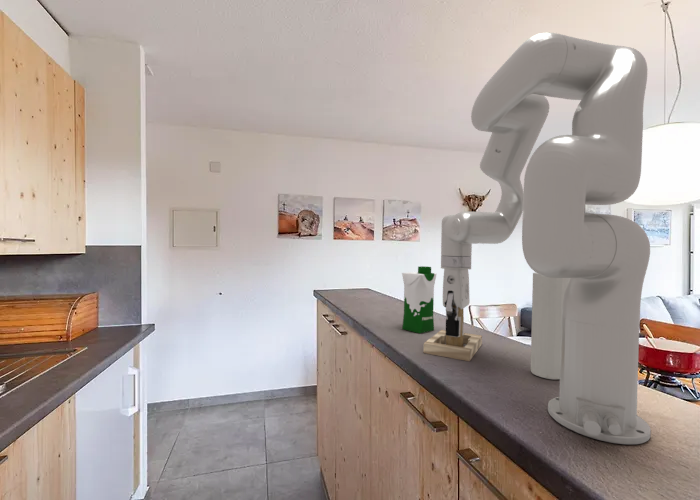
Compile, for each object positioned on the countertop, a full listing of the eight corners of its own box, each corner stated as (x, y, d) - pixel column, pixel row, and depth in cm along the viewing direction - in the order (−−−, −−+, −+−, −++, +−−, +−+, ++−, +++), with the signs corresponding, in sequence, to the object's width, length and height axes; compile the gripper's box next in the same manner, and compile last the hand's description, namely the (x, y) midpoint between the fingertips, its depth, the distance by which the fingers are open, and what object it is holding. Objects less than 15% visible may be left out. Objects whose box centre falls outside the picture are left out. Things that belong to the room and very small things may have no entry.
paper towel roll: (529, 376, 69) (532, 272, 69) (531, 367, 75) (533, 270, 74) (571, 384, 66) (574, 274, 65) (570, 374, 71) (572, 272, 71)
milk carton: (420, 334, 100) (421, 267, 100) (397, 328, 107) (398, 266, 107) (438, 330, 106) (439, 266, 106) (415, 324, 113) (416, 265, 113)
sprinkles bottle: (466, 347, 88) (467, 296, 87) (458, 351, 84) (459, 297, 84) (450, 343, 91) (451, 294, 91) (441, 347, 88) (442, 295, 87)
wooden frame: (469, 361, 78) (469, 351, 78) (423, 352, 84) (423, 343, 84) (481, 344, 92) (482, 335, 92) (441, 338, 97) (441, 329, 97)
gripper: (463, 265, 78) (462, 343, 78) (477, 262, 93) (475, 328, 93) (431, 263, 82) (430, 338, 82) (449, 261, 96) (448, 325, 97)
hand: (454, 332), depth 88 cm, fingers closed on sprinkles bottle, 4 cm apart
